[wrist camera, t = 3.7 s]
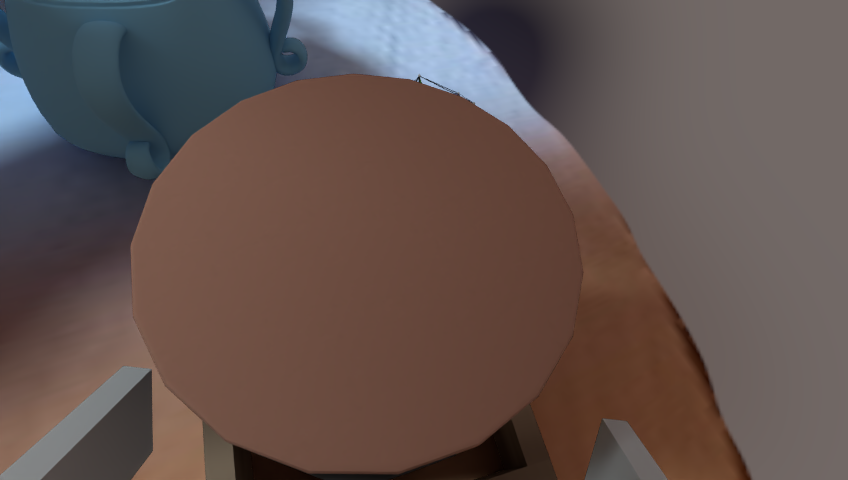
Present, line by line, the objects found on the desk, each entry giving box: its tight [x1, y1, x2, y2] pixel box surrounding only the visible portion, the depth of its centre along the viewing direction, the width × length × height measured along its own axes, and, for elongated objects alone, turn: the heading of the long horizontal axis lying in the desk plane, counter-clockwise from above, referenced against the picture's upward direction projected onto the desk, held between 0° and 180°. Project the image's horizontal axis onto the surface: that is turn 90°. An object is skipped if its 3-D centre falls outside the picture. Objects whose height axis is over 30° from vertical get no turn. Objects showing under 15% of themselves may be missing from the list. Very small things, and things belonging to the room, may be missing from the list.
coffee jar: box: [131, 74, 583, 480], centre depth 19 cm, size 11×11×18 cm
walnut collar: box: [203, 404, 557, 480], centre depth 25 cm, size 15×15×4 cm
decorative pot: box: [0, 0, 307, 180], centre depth 29 cm, size 16×16×14 cm
